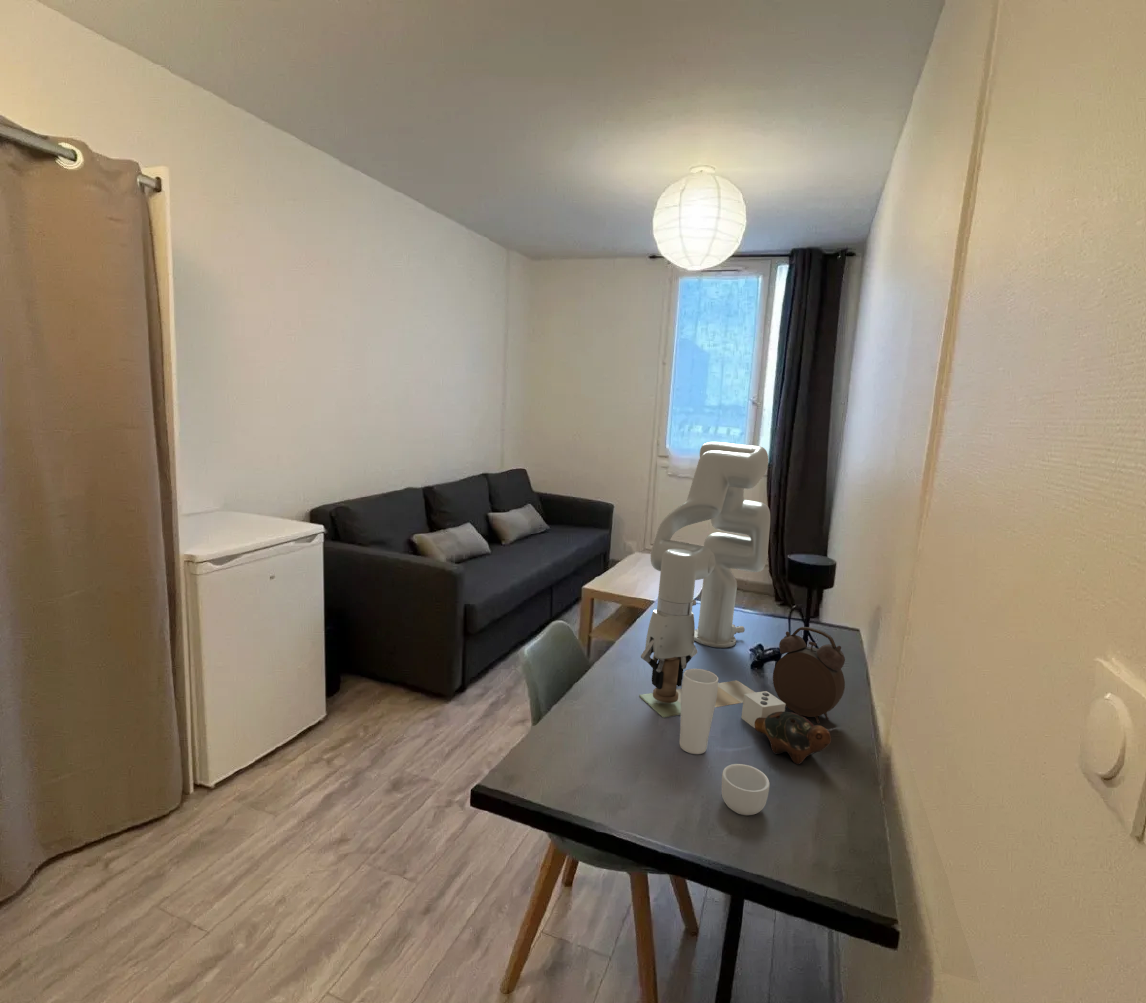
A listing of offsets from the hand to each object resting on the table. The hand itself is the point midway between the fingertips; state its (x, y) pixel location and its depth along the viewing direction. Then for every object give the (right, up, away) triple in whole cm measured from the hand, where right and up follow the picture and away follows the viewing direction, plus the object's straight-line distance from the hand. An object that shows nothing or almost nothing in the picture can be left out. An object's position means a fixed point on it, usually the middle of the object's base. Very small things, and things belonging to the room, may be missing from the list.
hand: (666, 684), depth 138 cm
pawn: (0, -3, 0) cm, 3 cm away
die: (+20, -7, -5) cm, 21 cm away
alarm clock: (+31, -7, +1) cm, 32 cm away
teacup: (+8, -11, -32) cm, 35 cm away
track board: (+9, -5, +5) cm, 11 cm away
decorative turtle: (+22, -9, -15) cm, 28 cm away
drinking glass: (+3, -8, -16) cm, 18 cm away
